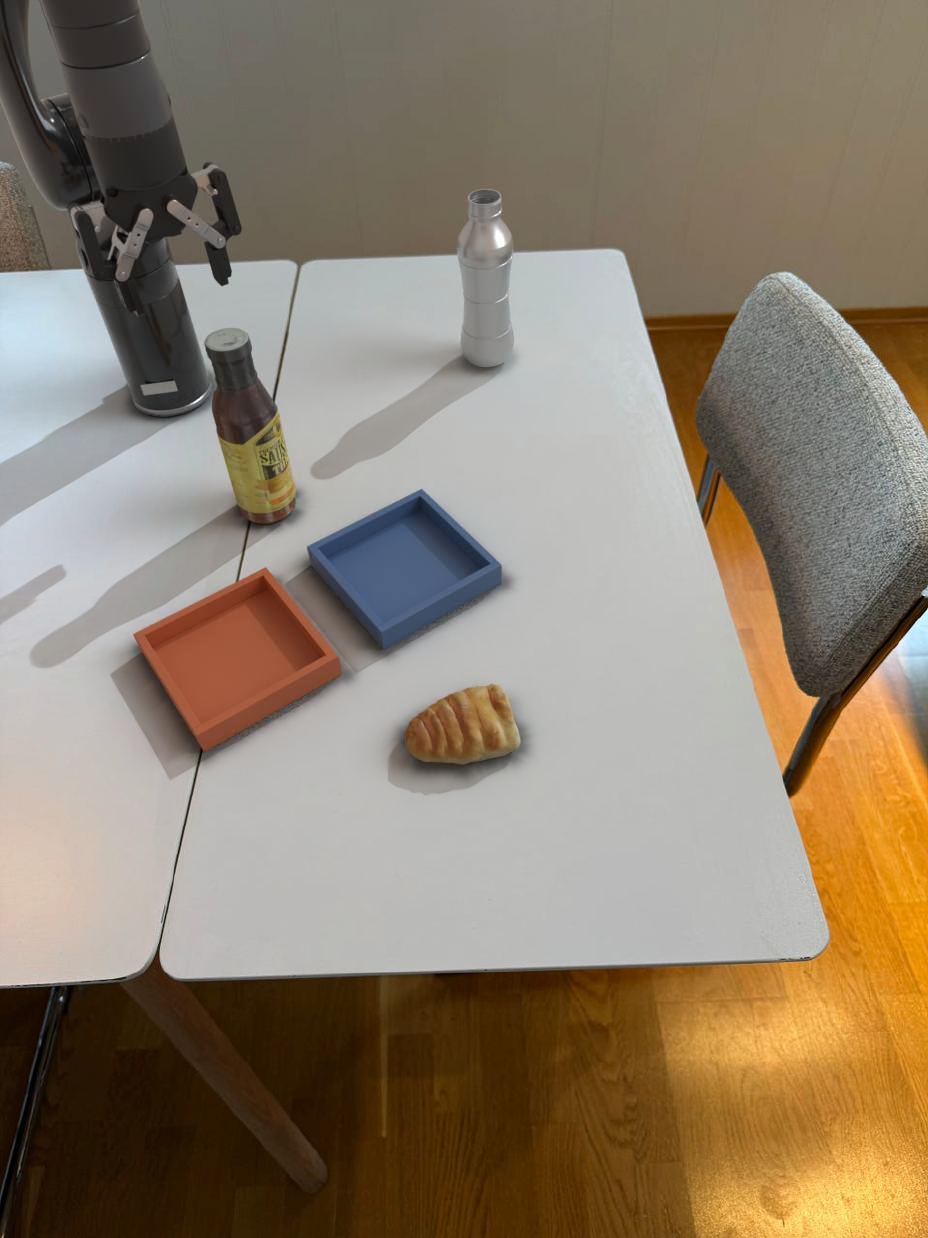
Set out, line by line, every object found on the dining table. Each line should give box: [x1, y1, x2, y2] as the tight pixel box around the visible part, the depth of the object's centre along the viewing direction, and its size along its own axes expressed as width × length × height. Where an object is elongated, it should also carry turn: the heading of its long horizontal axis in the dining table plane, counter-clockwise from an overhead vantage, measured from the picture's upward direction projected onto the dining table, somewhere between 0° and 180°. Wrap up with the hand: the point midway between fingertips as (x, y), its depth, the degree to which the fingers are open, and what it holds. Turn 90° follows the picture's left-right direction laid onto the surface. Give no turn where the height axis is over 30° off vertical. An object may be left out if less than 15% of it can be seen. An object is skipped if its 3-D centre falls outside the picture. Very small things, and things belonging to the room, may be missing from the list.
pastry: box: [404, 683, 522, 765], centre depth 74 cm, size 9×7×4 cm
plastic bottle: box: [455, 188, 515, 368], centre depth 103 cm, size 6×7×20 cm
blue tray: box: [306, 488, 503, 651], centre depth 87 cm, size 14×14×3 cm
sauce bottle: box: [203, 327, 297, 525], centre depth 88 cm, size 7×6×20 cm
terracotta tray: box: [132, 566, 343, 753], centre depth 81 cm, size 14×14×3 cm
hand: (180, 296), depth 86 cm, fingers open, 8 cm apart
